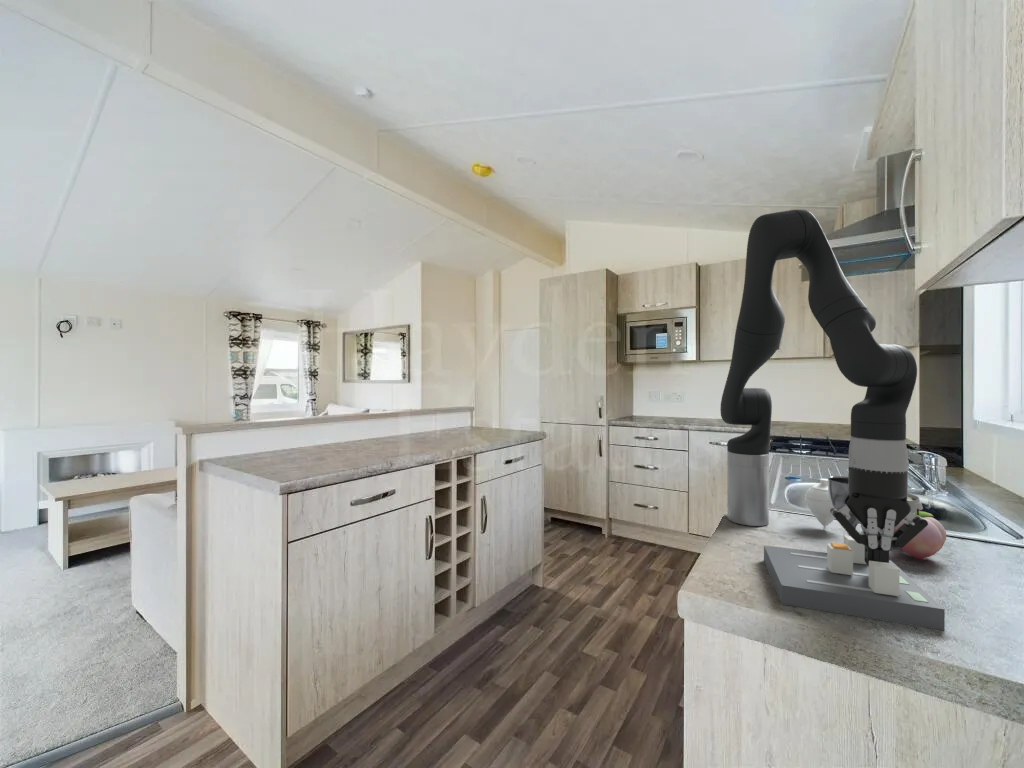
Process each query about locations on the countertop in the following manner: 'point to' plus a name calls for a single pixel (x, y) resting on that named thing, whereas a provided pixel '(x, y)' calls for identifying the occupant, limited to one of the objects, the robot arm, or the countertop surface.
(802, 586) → the grey flat slab
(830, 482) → the wine glass
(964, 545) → the countertop surface
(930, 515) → the decorative fruit
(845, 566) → the block
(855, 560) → the block
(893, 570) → the breaker
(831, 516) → the spinning top
